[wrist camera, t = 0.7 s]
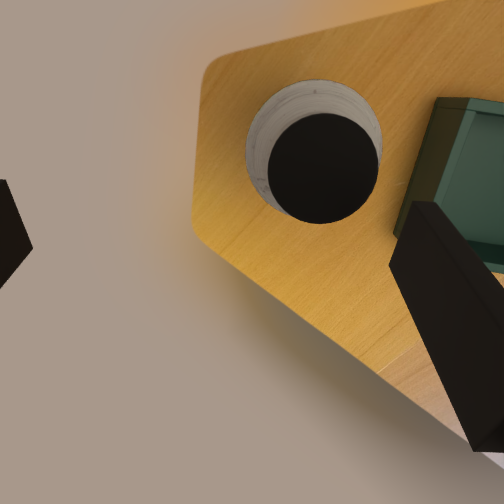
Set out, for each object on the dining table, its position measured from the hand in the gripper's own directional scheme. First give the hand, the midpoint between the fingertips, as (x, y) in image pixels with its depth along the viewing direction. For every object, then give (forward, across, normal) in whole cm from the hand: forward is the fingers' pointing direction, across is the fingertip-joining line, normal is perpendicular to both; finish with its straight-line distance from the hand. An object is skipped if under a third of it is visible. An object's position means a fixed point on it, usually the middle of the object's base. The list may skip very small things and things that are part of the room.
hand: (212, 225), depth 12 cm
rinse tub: (+28, +28, -11) cm, 42 cm away
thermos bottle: (+32, +7, -7) cm, 33 cm away
